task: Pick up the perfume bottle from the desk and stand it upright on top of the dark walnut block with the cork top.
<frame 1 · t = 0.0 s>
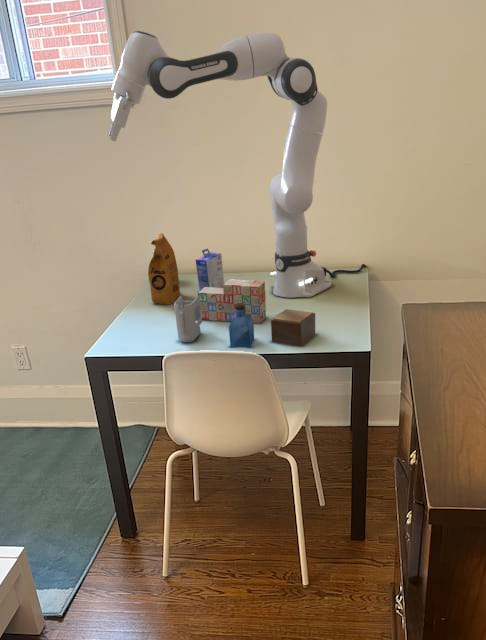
hand: (111, 138, 204), 54 cm above the table, tool tilted 30°, fingers open, 8 cm apart
coffee package: (166, 299, 243), on the table
ink cartridge box: (211, 289, 250), on the table
walnut block: (293, 338, 204), on the table
cable organizer: (191, 336, 211), on the table
cosmetic box: (165, 282, 261), on the table
perfume bottle: (242, 343, 203), on the table
stack of blocks: (233, 319, 222), on the table
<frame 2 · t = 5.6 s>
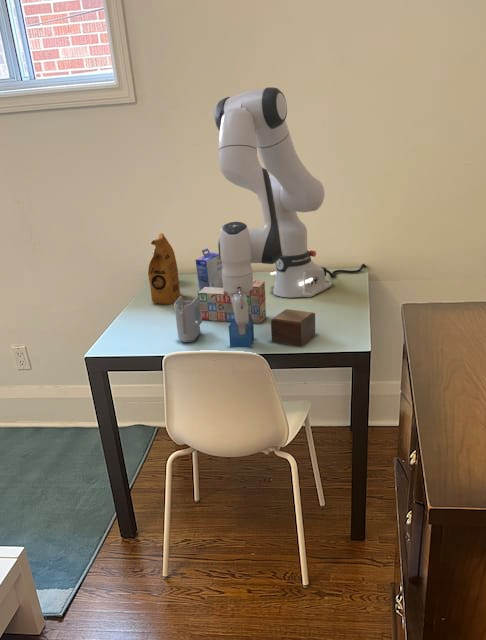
hand: (240, 328, 200), 5 cm above the table, tool pointing down, fingers closed on perfume bottle, 7 cm apart
perfume bottle: (242, 344, 203), on the table, touching gripper
everything else where it was.
when the fingers open (12 cm above the table, at t = 12.3 s): perfume bottle stays where it is, resting on walnut block.
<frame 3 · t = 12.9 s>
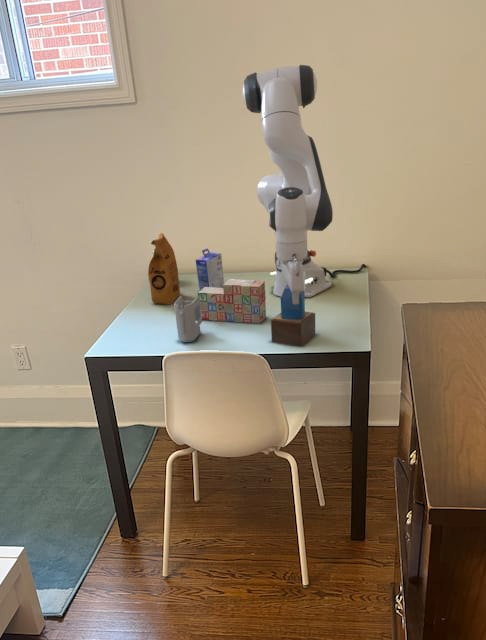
hand: (292, 298, 197), 12 cm above the table, tool pointing down, fingers open, 8 cm apart
perfume bottle: (293, 316, 200), point 7 cm above the table, touching walnut block
everything else where it was.
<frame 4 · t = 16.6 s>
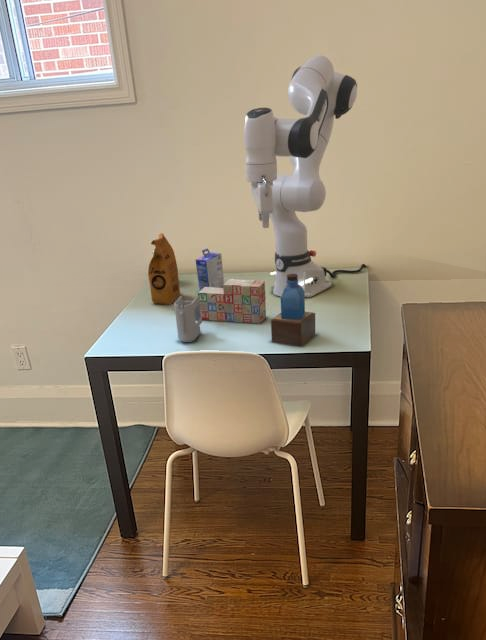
hand: (263, 223, 198), 31 cm above the table, tool pointing down, fingers open, 8 cm apart
nothing on the table moved.
at the end: perfume bottle inside the target area on the walnut block (0.0 cm from its centre), point 7.1 cm above the walnut block's base; perfume bottle tilted 0°; the gripper is holding nothing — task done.
